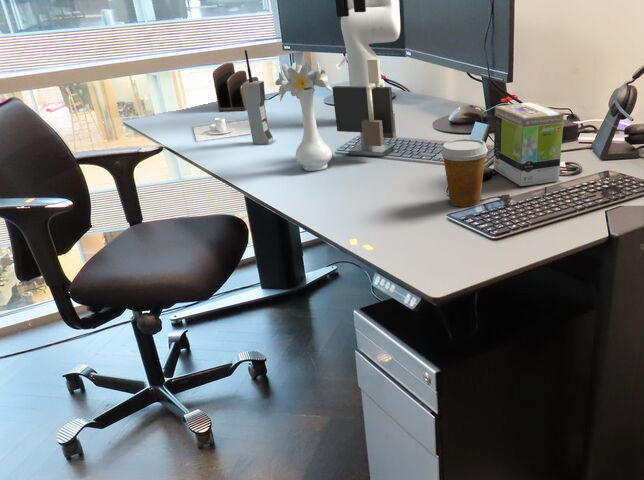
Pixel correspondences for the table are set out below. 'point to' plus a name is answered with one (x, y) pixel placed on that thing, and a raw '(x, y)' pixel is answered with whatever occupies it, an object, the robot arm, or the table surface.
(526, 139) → the tea box
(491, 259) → the table surface
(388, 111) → the monitor
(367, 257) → the table surface
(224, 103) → the letter holder
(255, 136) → the vintage mobile phone
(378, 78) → the headphones
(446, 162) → the disposable coffee cup
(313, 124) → the flower vase
